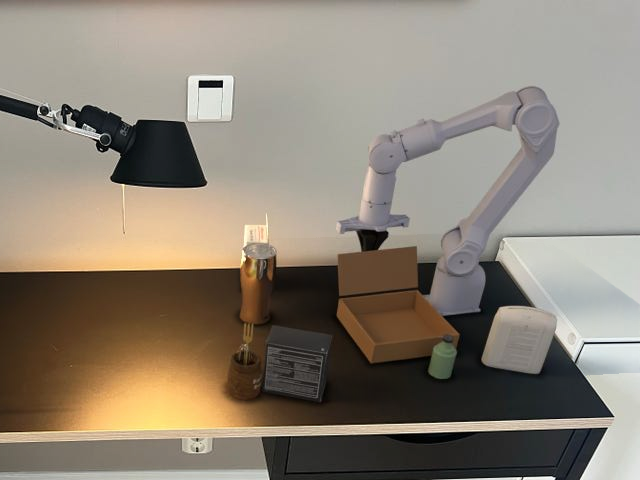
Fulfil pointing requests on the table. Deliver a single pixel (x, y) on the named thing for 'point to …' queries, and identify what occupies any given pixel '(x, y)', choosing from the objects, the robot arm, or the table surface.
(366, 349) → the carton
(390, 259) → the flap
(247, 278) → the beer glass
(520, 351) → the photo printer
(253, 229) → the ink cartridge box
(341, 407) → the table surface
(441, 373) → the bottle
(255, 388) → the utensil holder
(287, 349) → the small box
